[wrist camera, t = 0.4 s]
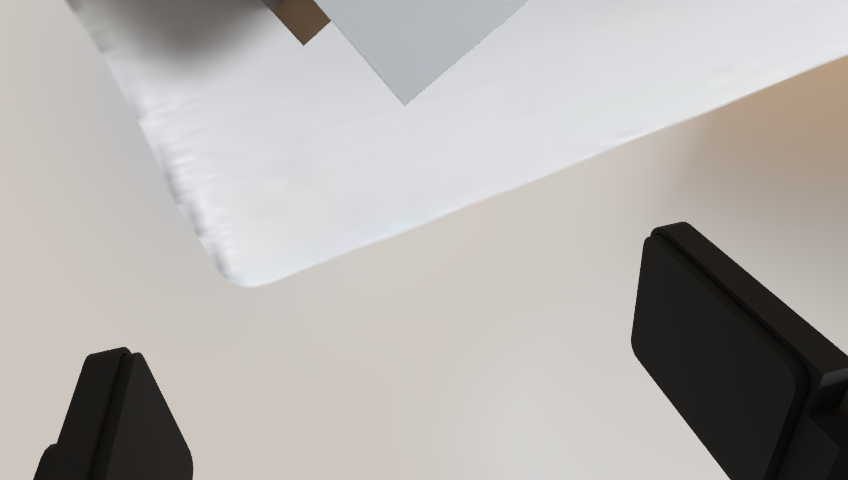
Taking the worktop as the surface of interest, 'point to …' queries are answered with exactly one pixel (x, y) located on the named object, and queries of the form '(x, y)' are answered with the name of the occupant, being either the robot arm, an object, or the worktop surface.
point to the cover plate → (415, 35)
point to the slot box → (299, 17)
